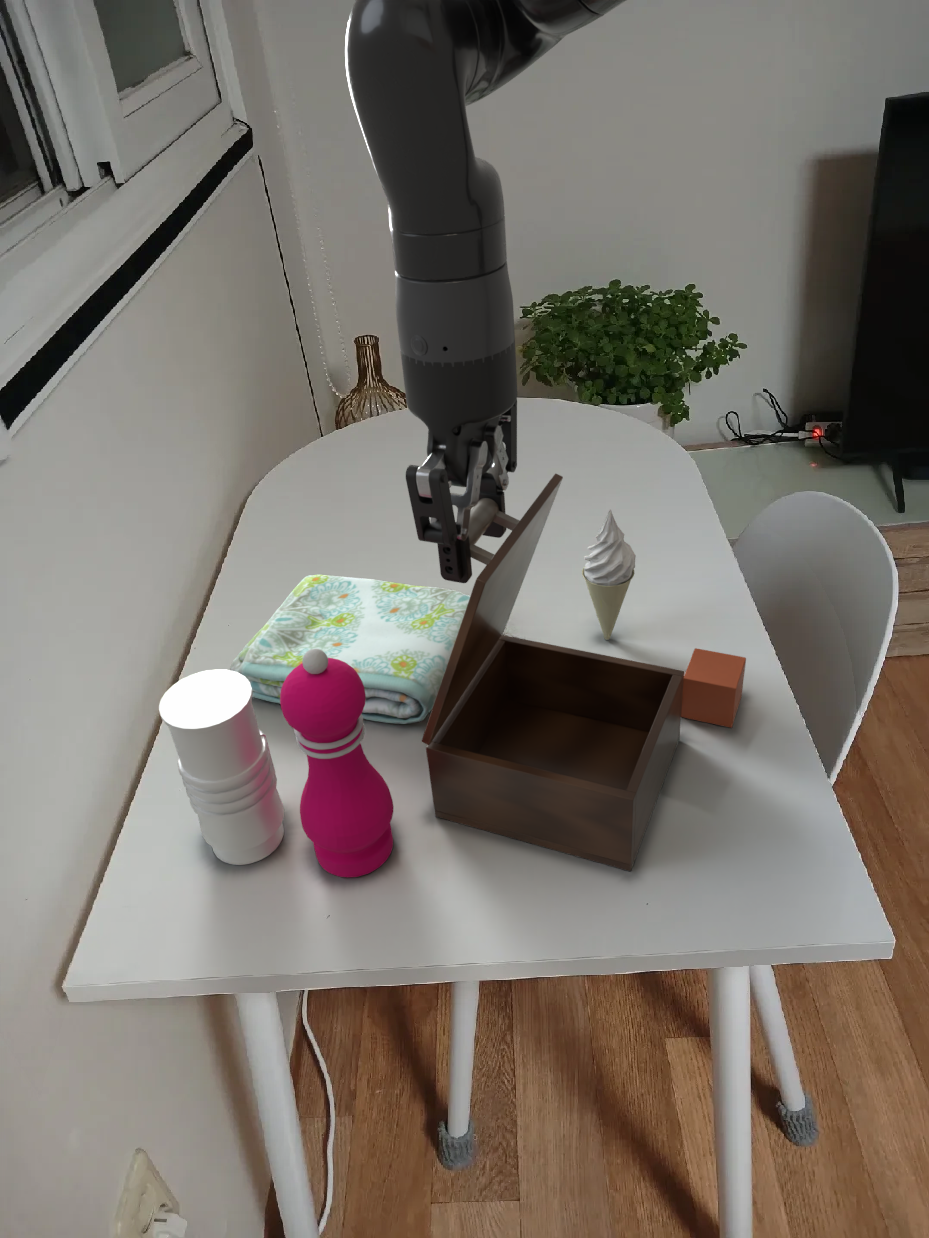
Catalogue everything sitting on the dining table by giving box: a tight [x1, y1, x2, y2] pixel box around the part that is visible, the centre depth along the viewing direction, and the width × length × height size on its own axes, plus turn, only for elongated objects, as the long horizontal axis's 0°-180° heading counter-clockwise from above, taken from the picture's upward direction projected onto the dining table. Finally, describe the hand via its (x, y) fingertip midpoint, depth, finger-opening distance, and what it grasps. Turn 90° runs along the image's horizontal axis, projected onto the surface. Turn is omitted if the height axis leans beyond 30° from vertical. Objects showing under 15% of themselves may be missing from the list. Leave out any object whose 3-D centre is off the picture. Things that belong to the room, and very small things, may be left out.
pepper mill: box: [280, 649, 394, 878], centre depth 71 cm, size 7×7×20 cm
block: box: [681, 647, 747, 729], centre depth 86 cm, size 5×5×5 cm
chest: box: [425, 634, 685, 872], centre depth 79 cm, size 17×16×8 cm
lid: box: [421, 473, 564, 746], centre depth 74 cm, size 17×16×5 cm
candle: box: [158, 668, 285, 866], centre depth 74 cm, size 7×7×15 cm
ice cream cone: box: [581, 509, 637, 641], centre depth 92 cm, size 5×5×15 cm
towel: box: [229, 574, 471, 725], centre depth 95 cm, size 18×21×5 cm
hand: (475, 555), depth 72 cm, fingers closed on lid, 6 cm apart
